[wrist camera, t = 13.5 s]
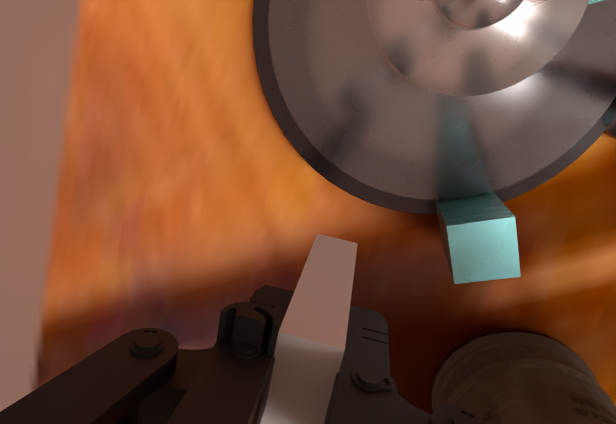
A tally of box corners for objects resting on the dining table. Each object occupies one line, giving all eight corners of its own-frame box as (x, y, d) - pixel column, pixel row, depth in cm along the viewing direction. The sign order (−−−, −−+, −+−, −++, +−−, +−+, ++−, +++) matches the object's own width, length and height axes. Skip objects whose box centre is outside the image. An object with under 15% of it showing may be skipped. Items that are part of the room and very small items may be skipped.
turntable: (243, -108, 23) (195, -167, 17) (625, -238, 19) (725, -372, 13) (324, 261, 29) (308, 308, 23) (632, 222, 25) (706, 266, 19)
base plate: (321, 245, 29) (319, 250, 29) (203, -90, 25) (197, -95, 24) (678, 153, 24) (687, 155, 23) (617, -299, 19) (627, -315, 18)
